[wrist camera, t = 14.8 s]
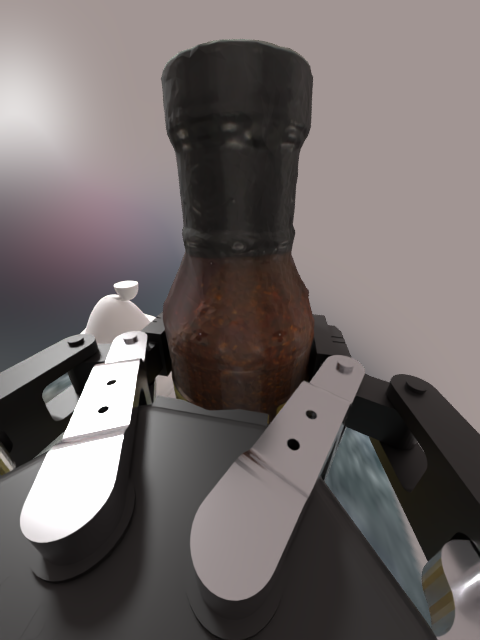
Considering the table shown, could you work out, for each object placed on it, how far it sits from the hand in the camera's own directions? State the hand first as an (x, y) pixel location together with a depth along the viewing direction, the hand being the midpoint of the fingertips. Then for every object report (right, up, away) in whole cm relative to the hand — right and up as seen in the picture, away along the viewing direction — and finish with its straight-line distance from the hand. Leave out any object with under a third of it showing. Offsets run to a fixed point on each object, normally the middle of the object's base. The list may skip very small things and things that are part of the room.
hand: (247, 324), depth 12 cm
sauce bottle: (-1, -11, +3) cm, 11 cm away
